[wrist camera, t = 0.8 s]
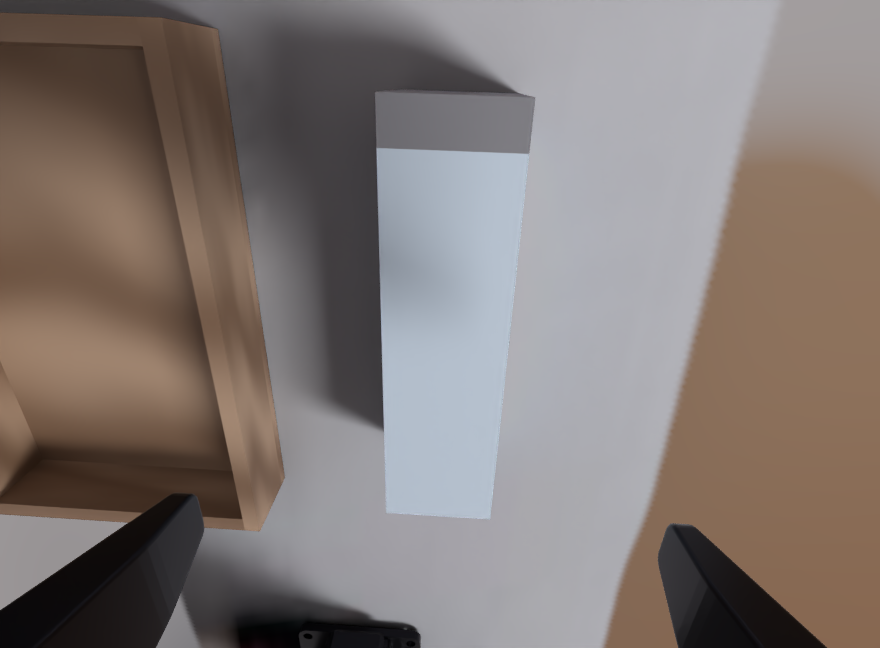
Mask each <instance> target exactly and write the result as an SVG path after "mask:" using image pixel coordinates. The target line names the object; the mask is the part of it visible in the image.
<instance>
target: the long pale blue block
mask: <svg viewBox="0 0 880 648" xmlns="http://www.w3.org/2000/svg"><path fill="white" fill-rule="evenodd" d="M534 104H535V97H531V96H527V95H523V94H519V93H493V92H464V91H435V90H406V89H395V90H387V91H378V92H375V113H376V150H377V187H378V225H379V262H380V299H381V337H382V374H383V411H384V449H385V486H386V513H396V514H412V515H427V516H443V517H459V518H475V519H490V516H491V506H492V497H493V488H494V478H495V469H496V460H497V450H498V441H499V431H500V422H501V413H502V403H503V394H504V385H505V375H506V366H507V357H508V347H509V338H510V329H511V319H512V310H513V301H514V291H515V282H516V272H517V263H518V254H519V244H520V235H521V226H522V216H523V207H524V198H525V188H526V179H527V170H528V160H529V151H530V141H531V132H532V123H533V113H534Z"/></svg>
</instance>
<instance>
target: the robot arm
mask: <svg viewBox="0 0 880 648" xmlns="http://www.w3.org/2000/svg"><path fill="white" fill-rule="evenodd" d="M203 532H204V521H203V517H202V513H201V509H200V505H199V501H198V498H197V496H196V495H195V494H193V493H179V492H176V493H172V494H170V495H168V496H167V497H165V498H164V499H163V500H161V501H160V502H158V503H157V504H155V505H154V506H152V507H151V508H149V509H148V510H146V511H145V512H143V513H142V514H141V515H139V516H138V517H136V518H135V519H133V520H132V521H130V522H129V523H128V524H126V525H124V526H123V527H122V528H120V529H119V530H117V531H116V532H114V533H113V534H111V535H110V536H108V537H107V538H105V539H104V540H103V541H101V542H100V543H98V544H97V545H95V546H94V547H92V548H91V549H89V550H88V551H86V552H85V553H83V554H82V555H81V556H79V557H78V558H76V559H75V560H73V561H72V562H70V563H69V564H67V565H66V566H64V567H63V568H61V569H60V570H59V571H57V572H56V573H54V574H53V575H51V576H50V577H49V578H47V579H45V580H44V581H42V582H41V583H39V584H38V585H37V586H35V587H34V588H32V589H31V590H29V591H28V592H26V593H25V594H23V595H22V596H20V597H19V598H18V599H16V600H15V601H13V602H12V603H10V604H9V605H7V606H6V607H4V608H3V609H1V610H0V648H156V646H157V644H158V642H159V640H160V638H161V636H162V634H163V632H164V630H165V628H166V626H167V624H168V622H169V620H170V617H171V615H172V613H173V611H174V608H175V606H176V603H177V601H178V598H179V596H180V593H181V591H182V588H183V585H184V583H185V580H186V578H187V575H188V572H189V570H190V567H191V565H192V562H193V560H194V557H195V554H196V552H197V549H198V547H199V544H200V541H201V539H202V536H203ZM658 564H659V569H660V574H661V578H662V582H663V586H664V591H665V595H666V599H667V603H668V607H669V612H670V615H671V620H672V624H673V628H674V633H675V637H676V641H677V645H678V648H827V647H826V646H825V645H824V644H823V643H821V642H820V641H819V640H818V639H817V638H816V637H815V636H814V635H813V634H812V633H811V632H809V631H808V630H807V629H806V628H805V627H804V626H803V625H802V624H801V623H799V622H798V621H797V620H796V619H795V618H794V617H793V616H792V615H791V614H790V613H789V612H788V611H786V610H785V609H784V608H783V607H782V606H781V605H780V604H779V603H778V602H777V601H776V600H774V599H773V598H772V597H771V596H770V595H769V594H768V593H767V592H766V591H765V590H764V589H762V588H761V587H760V586H759V585H758V584H757V583H756V582H755V581H754V580H753V579H751V578H750V577H749V576H748V575H747V574H746V573H745V572H744V571H743V570H742V569H740V568H739V567H738V566H737V565H736V564H735V563H734V562H733V561H732V560H731V559H730V558H729V557H727V556H726V555H725V554H724V553H723V552H722V551H721V550H720V549H719V548H718V547H717V546H715V545H714V544H713V543H712V542H711V541H710V540H709V539H708V538H707V537H706V536H704V535H703V534H702V533H701V532H700V531H699V530H698V529H697V528H695V527H694V526H692V525H689V524H674V523H673V524H670V525H669V526H668V527H667V529H666V532H665V535H664V538H663V541H662V544H661V547H660V550H659V553H658ZM299 640H300V646H301V648H421V636H420V634H419V633H418V632H416V631H412V630H399V629H385V628H371V627H357V626H343V625H329V624H315V623H305V624H303V625H302V626H301V629H300V632H299Z"/></svg>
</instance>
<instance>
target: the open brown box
mask: <svg viewBox="0 0 880 648" xmlns="http://www.w3.org/2000/svg"><path fill="white" fill-rule="evenodd" d="M284 478H285V476H284V469H283V462H282V456H281V449H280V442H279V435H278V429H277V422H276V415H275V409H274V402H273V395H272V388H271V382H270V375H269V368H268V362H267V355H266V348H265V342H264V335H263V328H262V321H261V315H260V308H259V301H258V295H257V288H256V281H255V274H254V268H253V261H252V254H251V248H250V241H249V234H248V228H247V221H246V214H245V207H244V201H243V194H242V187H241V181H240V174H239V167H238V160H237V154H236V147H235V140H234V134H233V127H232V120H231V113H230V107H229V100H228V93H227V87H226V80H225V73H224V67H223V60H222V53H221V46H220V40H219V33H218V29H214V28H210V27H205V26H200V25H195V24H190V23H185V22H181V21H176V20H171V19H166V18H161V17H129V16H96V15H63V14H30V13H0V514H5V515H20V516H36V517H51V518H66V519H81V520H97V521H112V522H127V523H129V522H130V521H132V520H133V519H135V518H136V517H138V516H139V515H141V514H142V513H143V512H145V511H146V510H148V509H149V508H151V507H152V506H154V505H155V504H157V503H158V502H160V501H161V500H163V499H164V498H165V497H167V496H168V495H170V494H172V493H176V492H179V493H193V494H195V495H196V496H197V498H198V501H199V505H200V509H201V513H202V517H203V521H204V528H219V529H234V530H249V531H260V530H261V528H262V526H263V524H264V521H265V519H266V517H267V515H268V513H269V511H270V508H271V506H272V504H273V502H274V500H275V498H276V496H277V493H278V491H279V489H280V487H281V485H282V483H283V480H284Z"/></svg>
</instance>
